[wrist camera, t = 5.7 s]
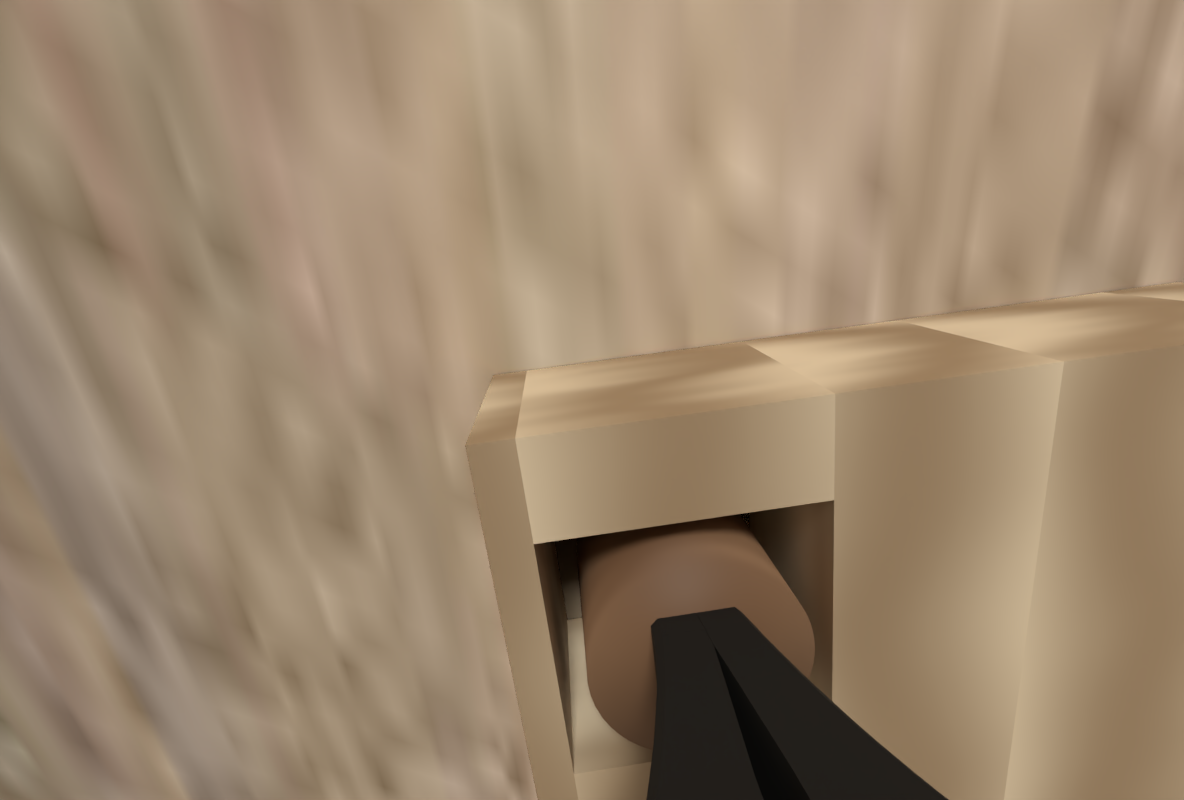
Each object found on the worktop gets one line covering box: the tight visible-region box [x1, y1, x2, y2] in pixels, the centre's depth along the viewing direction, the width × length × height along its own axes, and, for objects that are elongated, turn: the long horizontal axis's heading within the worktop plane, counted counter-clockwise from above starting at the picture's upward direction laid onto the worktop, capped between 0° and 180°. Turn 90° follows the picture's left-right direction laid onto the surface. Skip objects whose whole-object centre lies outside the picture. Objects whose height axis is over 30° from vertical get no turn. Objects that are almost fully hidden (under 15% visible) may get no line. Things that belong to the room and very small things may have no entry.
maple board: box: [465, 282, 1184, 800], centre depth 12 cm, size 15×18×4 cm
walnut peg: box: [576, 514, 815, 750], centre depth 10 cm, size 4×4×4 cm
